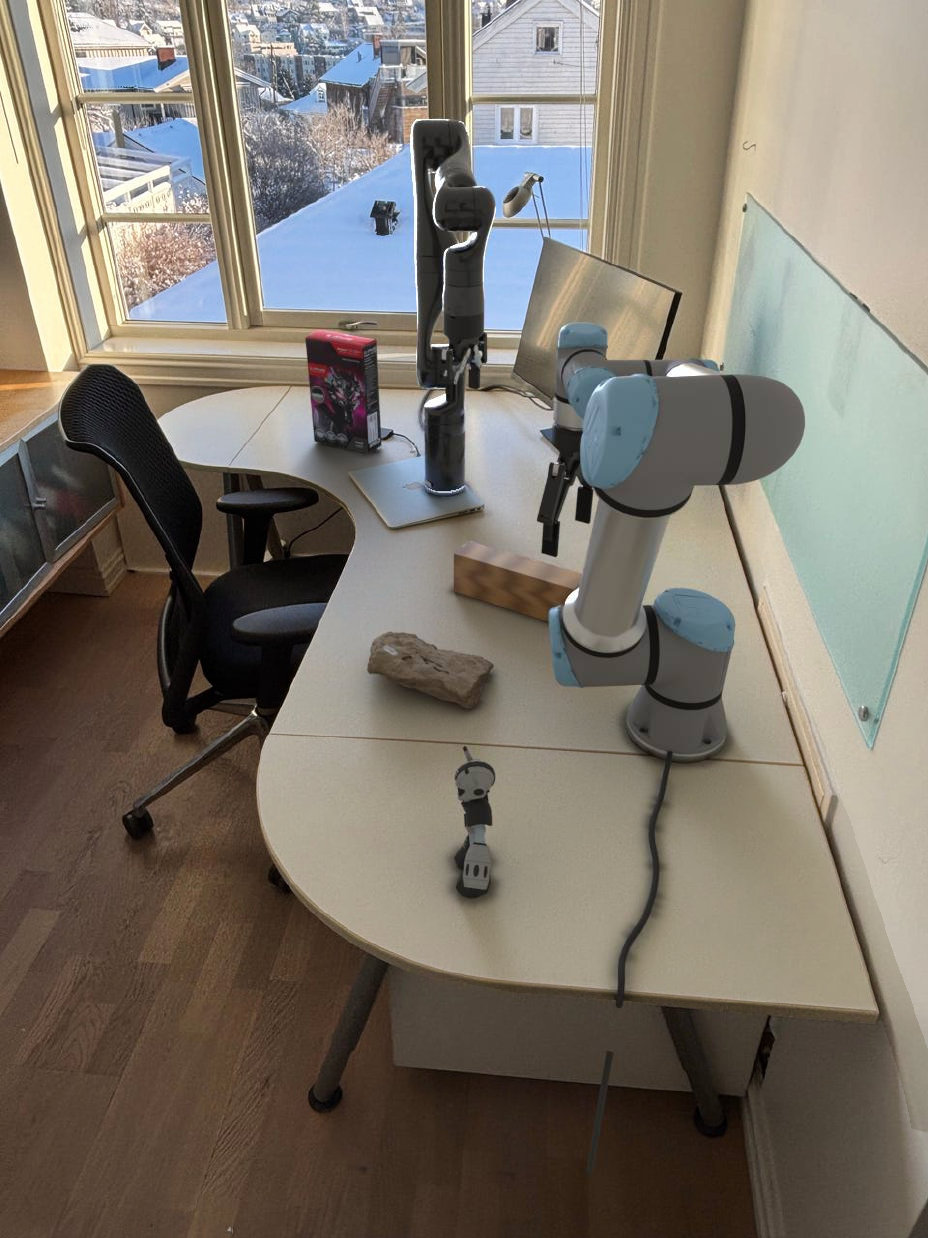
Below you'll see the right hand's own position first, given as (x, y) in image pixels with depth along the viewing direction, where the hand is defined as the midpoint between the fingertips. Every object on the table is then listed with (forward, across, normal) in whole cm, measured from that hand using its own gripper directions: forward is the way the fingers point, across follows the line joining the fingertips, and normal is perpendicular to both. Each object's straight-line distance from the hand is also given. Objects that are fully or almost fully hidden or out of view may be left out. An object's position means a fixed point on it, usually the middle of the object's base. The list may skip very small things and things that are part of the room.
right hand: (566, 537), depth 161 cm
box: (+16, 0, -9) cm, 18 cm away
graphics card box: (+17, -43, -80) cm, 92 cm away
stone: (+16, +30, -11) cm, 35 cm away
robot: (+16, +61, +16) cm, 65 cm away
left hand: (-15, -15, -30) cm, 36 cm away
